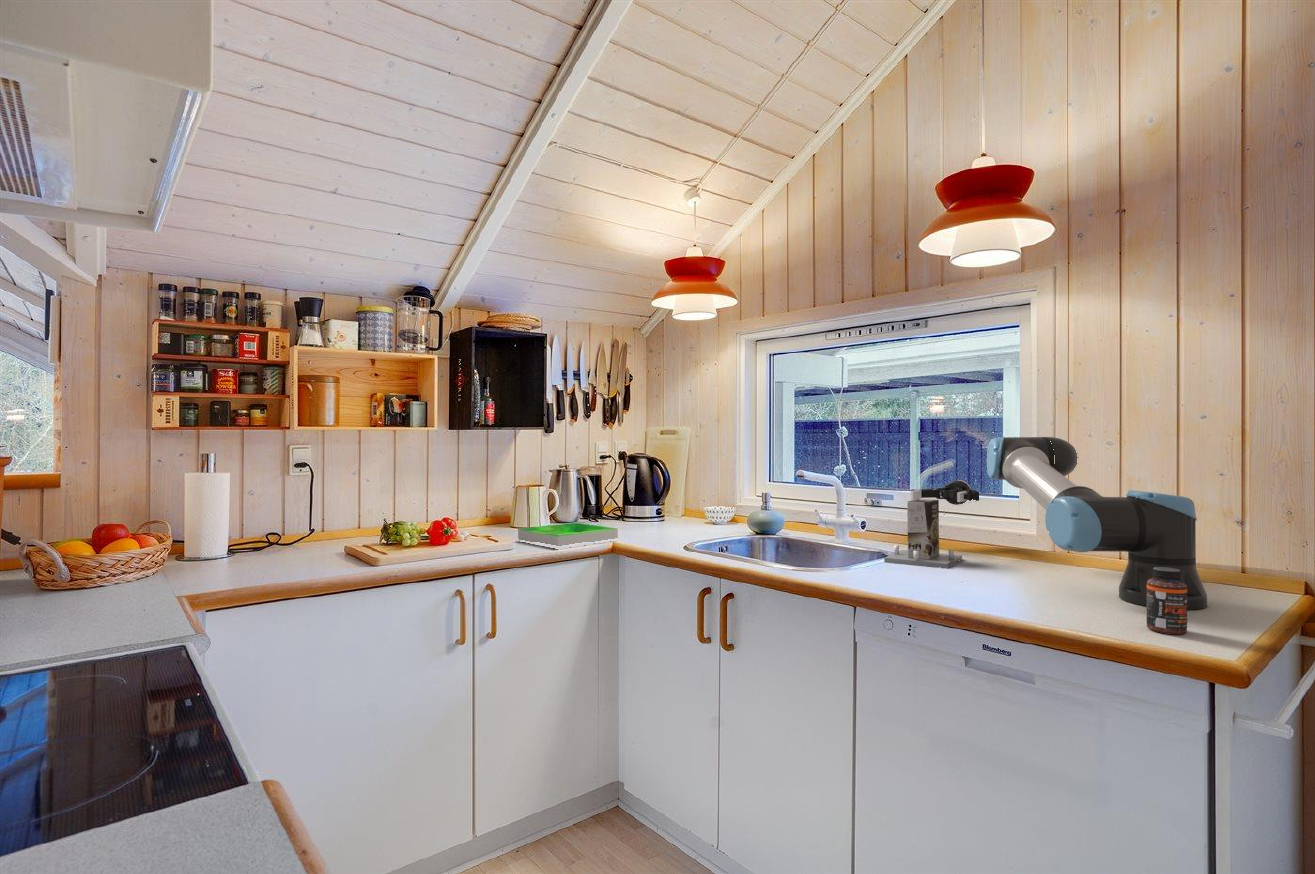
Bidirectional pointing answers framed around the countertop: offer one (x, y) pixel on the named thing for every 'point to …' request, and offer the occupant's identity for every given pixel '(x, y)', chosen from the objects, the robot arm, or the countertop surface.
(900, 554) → the cradle
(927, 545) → the coffee box
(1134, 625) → the countertop surface
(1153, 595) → the supplement bottle
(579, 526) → the tray
